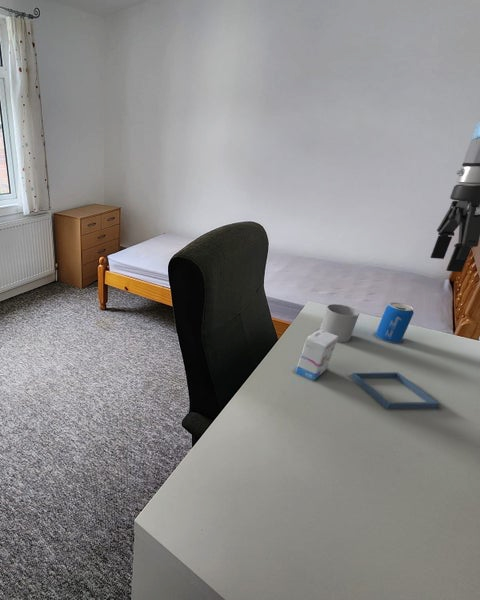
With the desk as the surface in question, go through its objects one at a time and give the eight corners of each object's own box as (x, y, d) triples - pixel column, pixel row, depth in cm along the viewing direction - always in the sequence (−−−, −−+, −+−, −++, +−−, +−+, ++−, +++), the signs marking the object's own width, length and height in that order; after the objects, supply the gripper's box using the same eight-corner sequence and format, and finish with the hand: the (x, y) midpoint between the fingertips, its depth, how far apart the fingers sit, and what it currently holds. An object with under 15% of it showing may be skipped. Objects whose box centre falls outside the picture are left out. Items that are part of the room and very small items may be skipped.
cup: (324, 341, 110) (333, 314, 106) (314, 329, 117) (322, 303, 113) (354, 344, 108) (364, 317, 104) (342, 331, 115) (352, 305, 111)
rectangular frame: (394, 378, 93) (397, 372, 92) (437, 410, 82) (440, 403, 81) (349, 378, 93) (352, 372, 92) (385, 410, 82) (388, 404, 81)
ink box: (313, 382, 92) (326, 345, 87) (294, 373, 95) (305, 337, 90) (327, 371, 96) (339, 335, 91) (307, 362, 100) (318, 327, 95)
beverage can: (373, 339, 110) (386, 306, 105) (376, 332, 115) (389, 300, 109) (399, 346, 106) (414, 313, 101) (401, 339, 110) (416, 306, 105)
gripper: (439, 180, 98) (414, 252, 106) (475, 188, 78) (441, 275, 86) (476, 180, 94) (447, 254, 102) (524, 188, 74) (483, 279, 83)
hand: (444, 264), depth 94 cm, fingers open, 13 cm apart
